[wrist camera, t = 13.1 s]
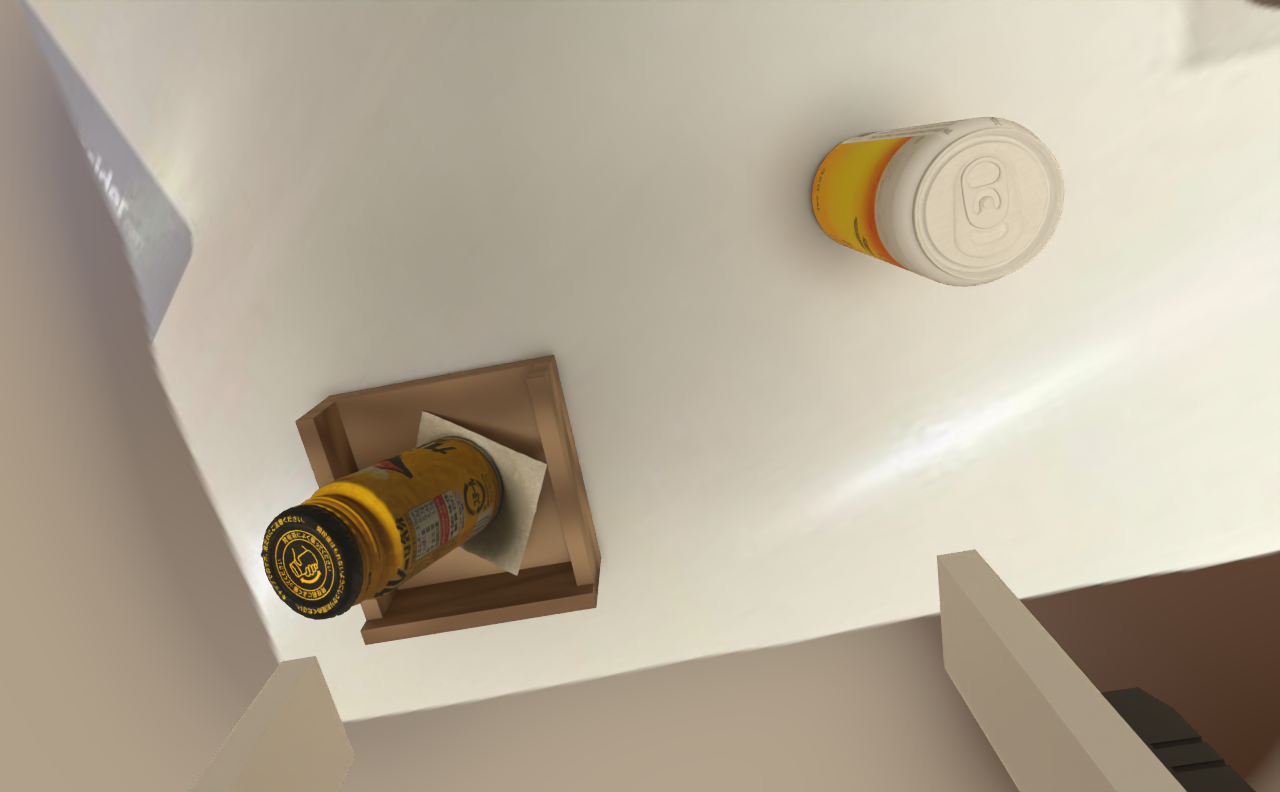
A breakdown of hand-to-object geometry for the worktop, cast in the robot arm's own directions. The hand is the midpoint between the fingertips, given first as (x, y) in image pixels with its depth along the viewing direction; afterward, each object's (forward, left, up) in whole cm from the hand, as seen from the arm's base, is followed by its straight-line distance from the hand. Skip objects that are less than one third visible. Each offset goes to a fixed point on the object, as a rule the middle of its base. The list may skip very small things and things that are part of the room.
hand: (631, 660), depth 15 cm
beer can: (-6, +14, -29) cm, 33 cm away
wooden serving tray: (+7, -12, -29) cm, 32 cm away
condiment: (+7, -11, -26) cm, 29 cm away
